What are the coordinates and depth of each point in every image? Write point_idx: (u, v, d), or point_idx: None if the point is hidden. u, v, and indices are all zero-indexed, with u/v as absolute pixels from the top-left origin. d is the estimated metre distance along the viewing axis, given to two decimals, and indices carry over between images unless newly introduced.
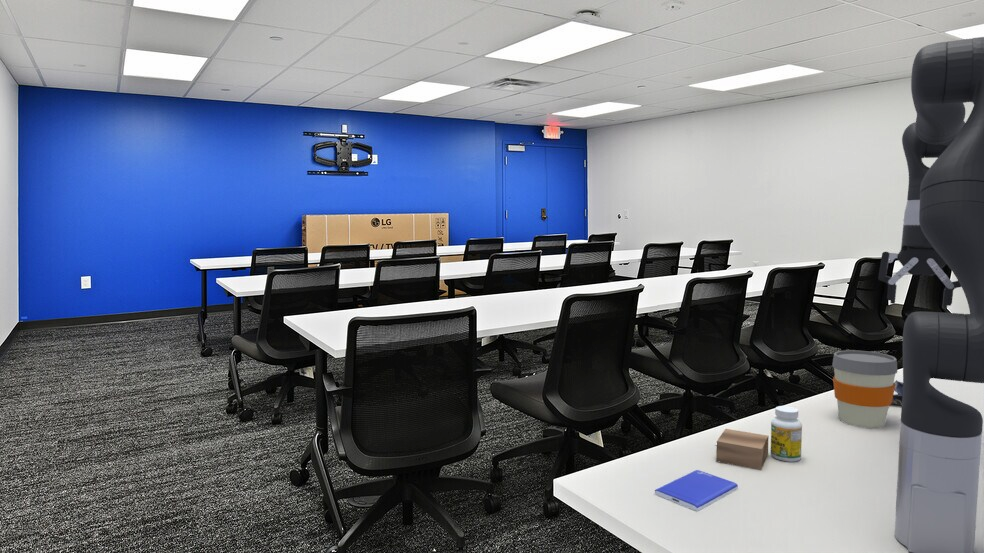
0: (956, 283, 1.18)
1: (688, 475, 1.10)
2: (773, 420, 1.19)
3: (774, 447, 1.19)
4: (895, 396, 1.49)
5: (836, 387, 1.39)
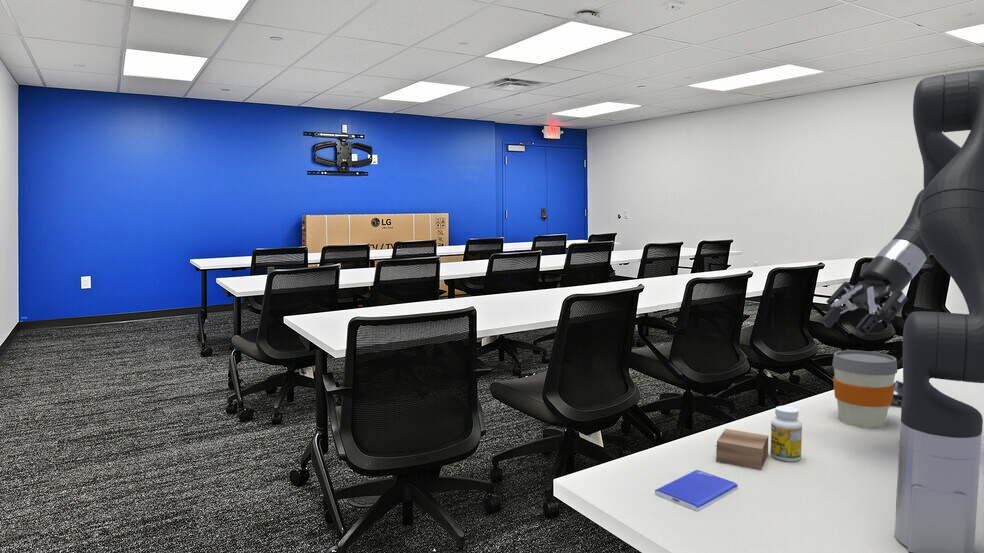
0: (879, 311, 1.15)
1: (688, 475, 1.10)
2: (773, 420, 1.19)
3: (774, 447, 1.19)
4: (896, 396, 1.49)
5: (836, 387, 1.39)
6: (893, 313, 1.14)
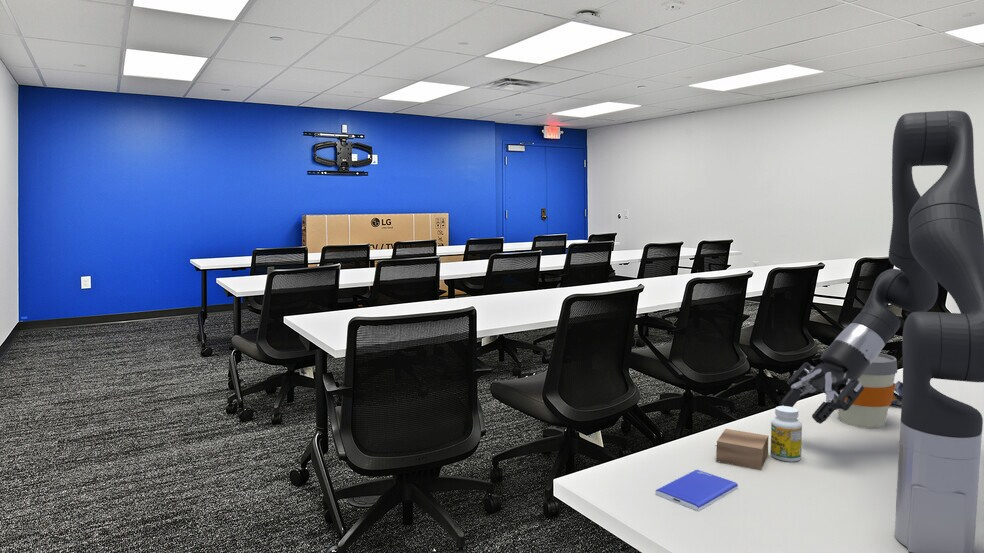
0: (836, 400, 1.14)
1: (688, 475, 1.10)
2: (773, 420, 1.19)
3: (774, 447, 1.19)
4: (901, 397, 1.48)
5: None
6: (849, 402, 1.13)
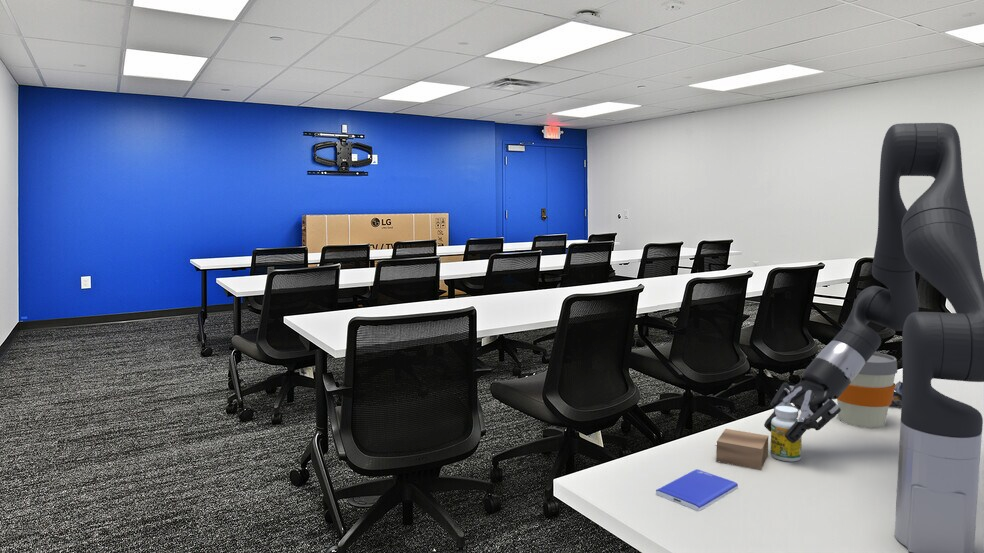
0: None
1: (688, 475, 1.10)
2: (773, 420, 1.19)
3: (774, 447, 1.19)
4: None
5: None
6: (822, 423, 1.14)
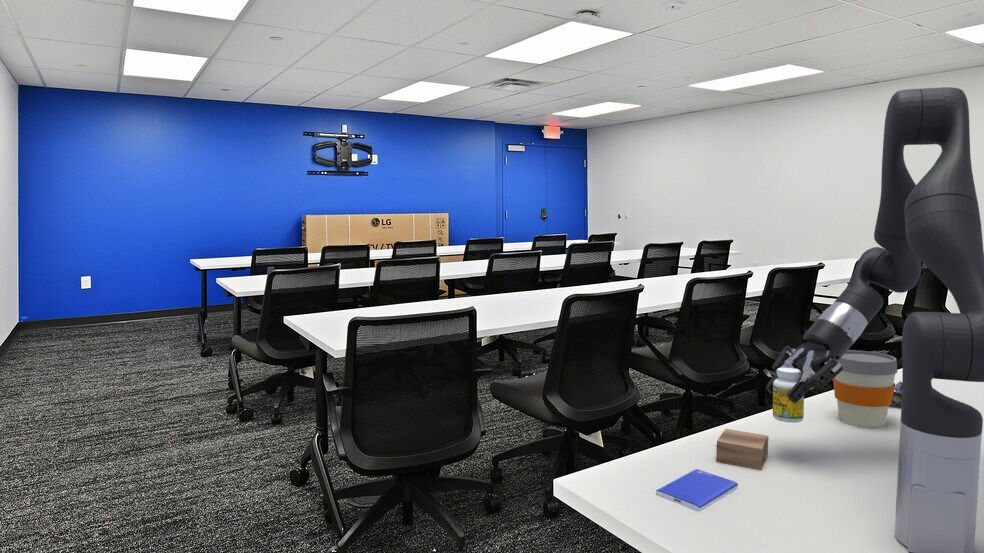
0: None
1: (688, 474, 1.10)
2: (775, 381, 1.18)
3: (776, 408, 1.18)
4: None
5: (835, 387, 1.39)
6: (824, 382, 1.13)
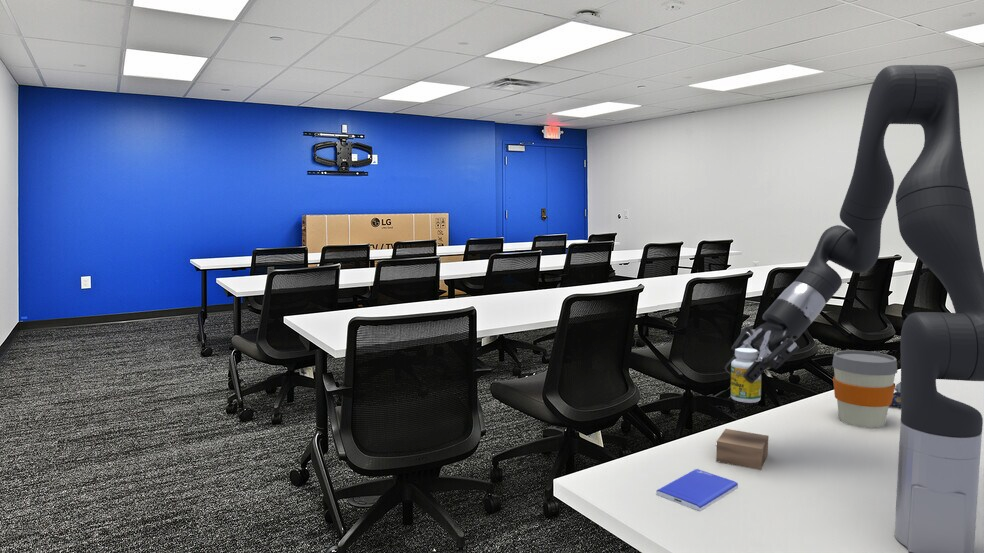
0: None
1: (688, 474, 1.10)
2: (733, 361, 1.18)
3: (734, 388, 1.17)
4: None
5: (835, 387, 1.39)
6: (780, 362, 1.12)
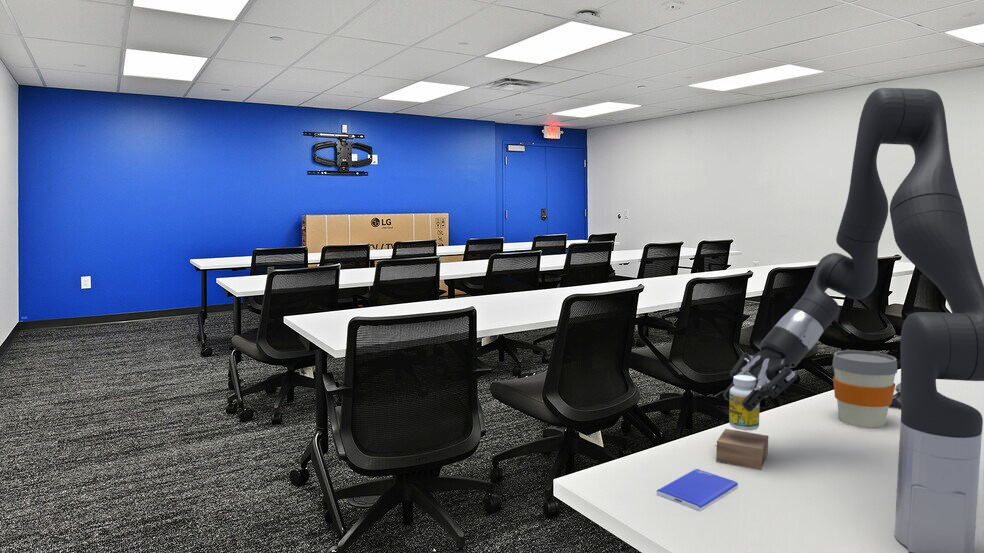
0: None
1: (688, 474, 1.10)
2: (731, 389, 1.18)
3: (732, 416, 1.18)
4: None
5: (836, 387, 1.39)
6: (778, 391, 1.13)
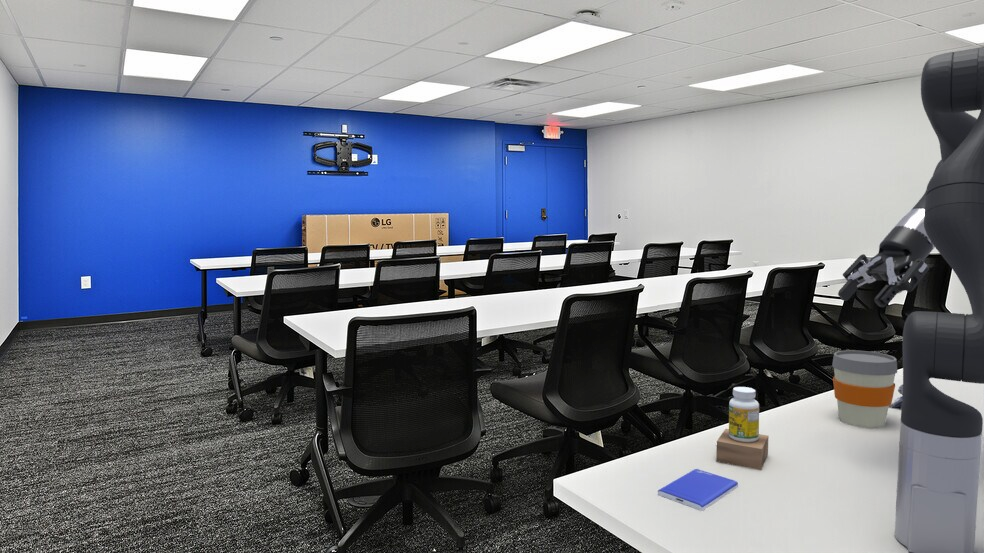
0: (900, 282, 1.10)
1: (688, 474, 1.10)
2: (731, 401, 1.19)
3: (732, 428, 1.18)
4: None
5: (835, 387, 1.39)
6: (914, 283, 1.09)
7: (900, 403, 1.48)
